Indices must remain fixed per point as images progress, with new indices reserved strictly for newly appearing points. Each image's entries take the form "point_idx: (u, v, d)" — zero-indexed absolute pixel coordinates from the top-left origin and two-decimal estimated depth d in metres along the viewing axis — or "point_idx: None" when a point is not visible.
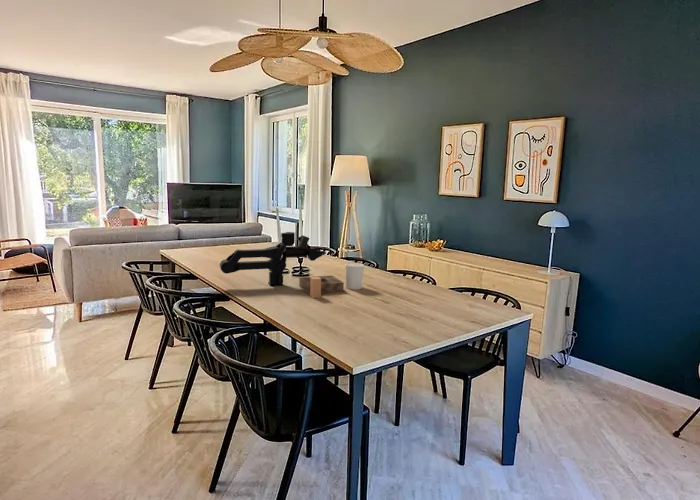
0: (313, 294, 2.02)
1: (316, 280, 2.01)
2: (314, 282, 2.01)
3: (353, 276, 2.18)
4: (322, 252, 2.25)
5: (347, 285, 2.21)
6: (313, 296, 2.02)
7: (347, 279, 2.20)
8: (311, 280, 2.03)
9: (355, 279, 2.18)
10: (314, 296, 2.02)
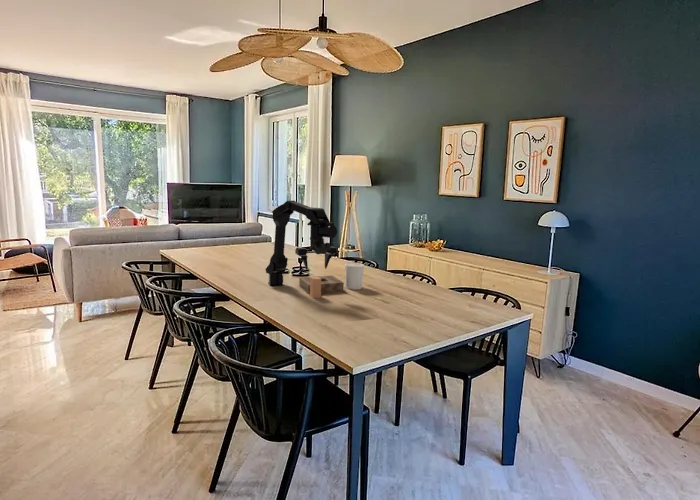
0: (313, 294, 2.02)
1: (316, 280, 2.01)
2: (314, 282, 2.01)
3: (353, 276, 2.18)
4: (305, 265, 2.00)
5: (347, 285, 2.21)
6: (313, 296, 2.02)
7: (347, 279, 2.20)
8: (311, 280, 2.03)
9: (355, 279, 2.18)
10: (314, 296, 2.02)
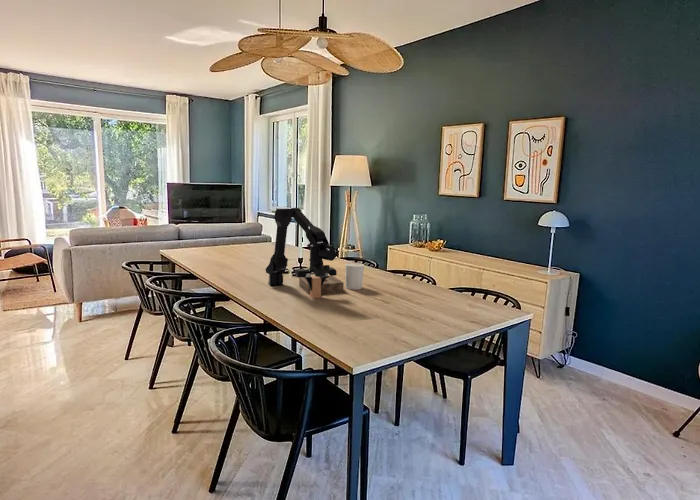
0: (313, 294, 2.02)
1: (316, 280, 2.01)
2: (314, 282, 2.01)
3: (353, 276, 2.18)
4: (309, 286, 2.02)
5: (347, 285, 2.21)
6: (313, 296, 2.02)
7: (347, 279, 2.20)
8: None
9: (355, 279, 2.18)
10: (314, 296, 2.02)
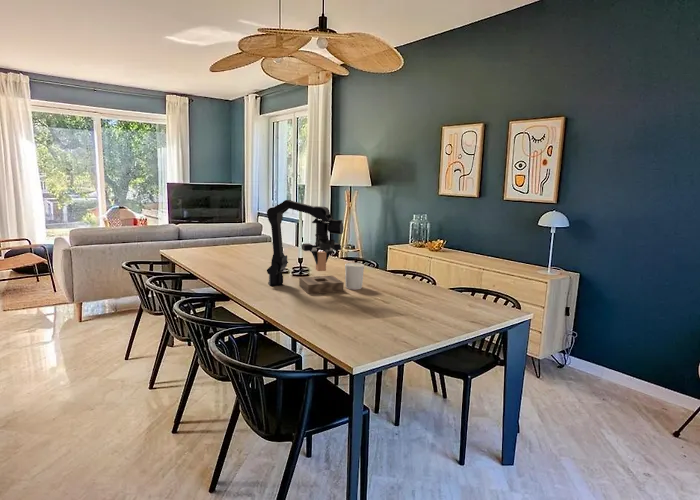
0: (319, 267, 2.13)
1: (322, 254, 2.13)
2: (320, 256, 2.13)
3: (353, 276, 2.18)
4: (315, 260, 2.14)
5: (347, 285, 2.21)
6: (319, 269, 2.14)
7: (347, 279, 2.20)
8: (317, 254, 2.14)
9: (355, 279, 2.18)
10: (320, 269, 2.14)
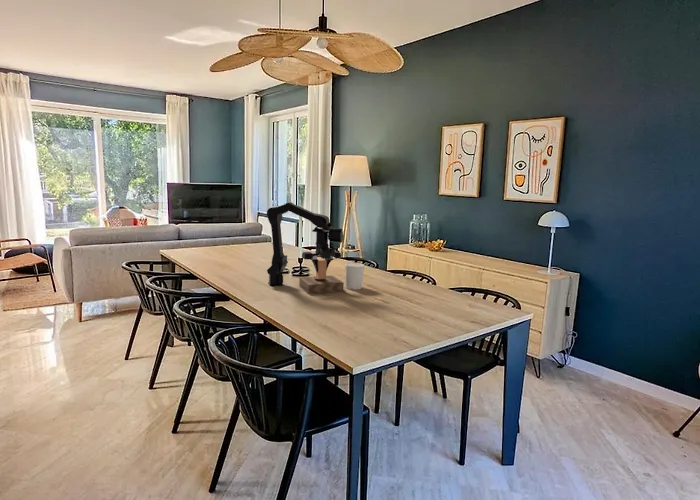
0: (319, 276, 2.16)
1: (322, 262, 2.15)
2: (320, 264, 2.15)
3: (353, 276, 2.18)
4: (315, 268, 2.16)
5: (347, 285, 2.21)
6: (319, 277, 2.16)
7: (347, 279, 2.20)
8: None
9: (355, 279, 2.18)
10: (320, 277, 2.16)
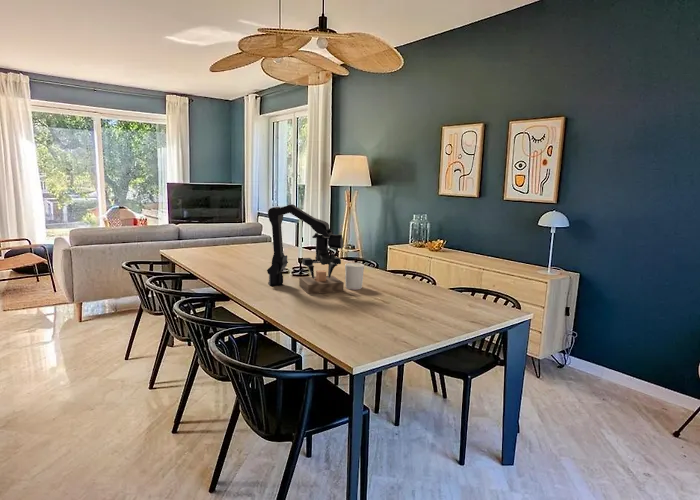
0: None
1: (322, 273, 2.16)
2: (320, 275, 2.16)
3: (353, 276, 2.18)
4: (311, 274, 2.16)
5: (347, 285, 2.21)
6: None
7: (347, 279, 2.20)
8: (317, 273, 2.17)
9: (355, 279, 2.18)
10: None
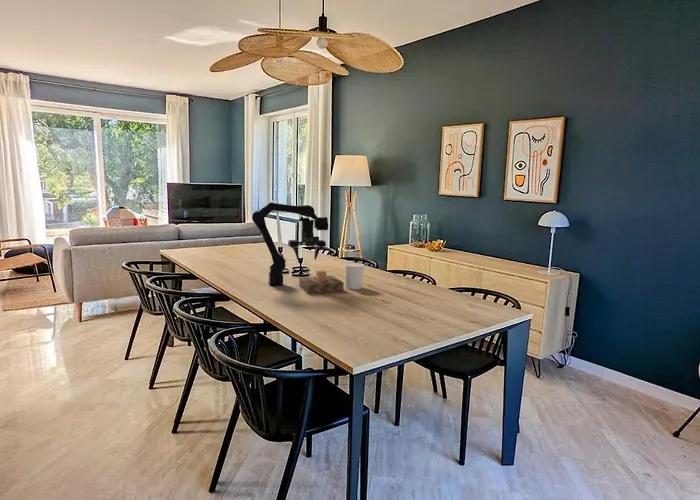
0: None
1: (322, 273, 2.16)
2: (320, 275, 2.16)
3: (353, 276, 2.18)
4: (296, 256, 2.23)
5: (347, 285, 2.21)
6: None
7: (347, 279, 2.20)
8: (317, 273, 2.17)
9: (355, 279, 2.18)
10: None
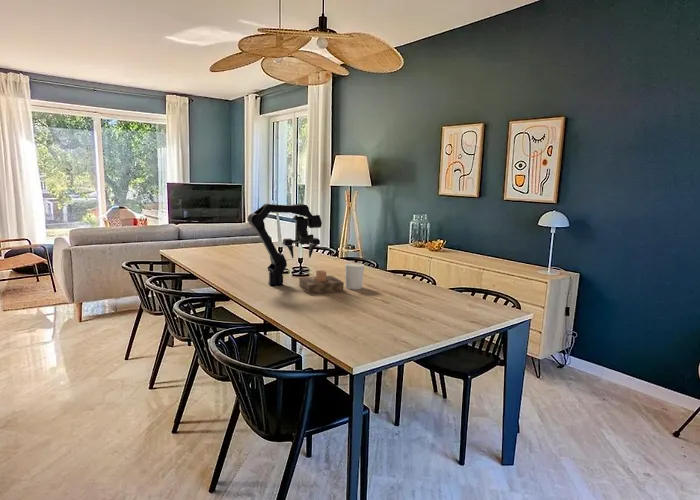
0: None
1: (322, 273, 2.16)
2: (320, 275, 2.16)
3: (353, 276, 2.18)
4: (291, 254, 2.27)
5: (347, 285, 2.21)
6: None
7: (347, 279, 2.20)
8: (317, 273, 2.17)
9: (355, 279, 2.18)
10: None
